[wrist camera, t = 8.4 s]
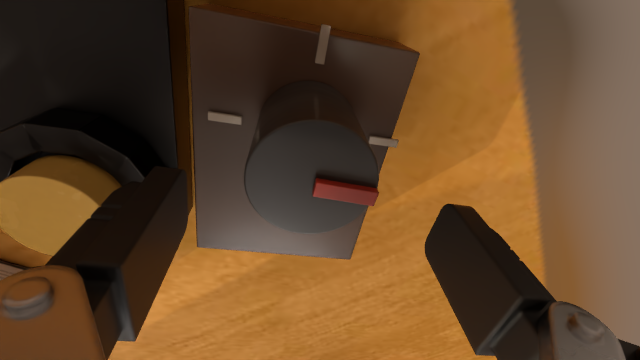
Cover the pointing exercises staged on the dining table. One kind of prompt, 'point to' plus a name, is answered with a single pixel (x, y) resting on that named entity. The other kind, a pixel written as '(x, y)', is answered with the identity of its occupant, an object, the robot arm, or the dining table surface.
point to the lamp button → (52, 200)
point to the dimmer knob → (310, 161)
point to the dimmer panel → (250, 96)
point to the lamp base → (95, 85)
